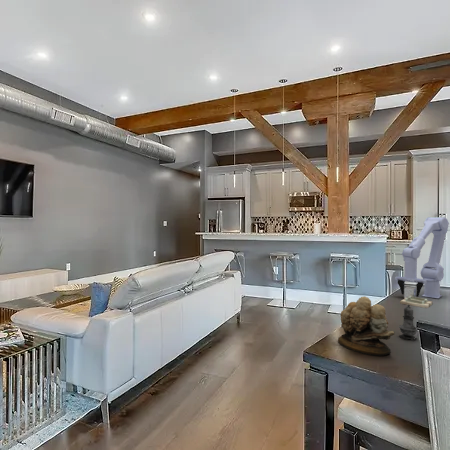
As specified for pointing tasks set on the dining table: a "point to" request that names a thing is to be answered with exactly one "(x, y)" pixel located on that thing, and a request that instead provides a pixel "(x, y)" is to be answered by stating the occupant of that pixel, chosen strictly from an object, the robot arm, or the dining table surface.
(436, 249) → the robot arm
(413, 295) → the block
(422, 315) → the dining table surface
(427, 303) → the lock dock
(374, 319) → the owl figurine
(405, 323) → the grey chess piece
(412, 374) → the dining table surface
